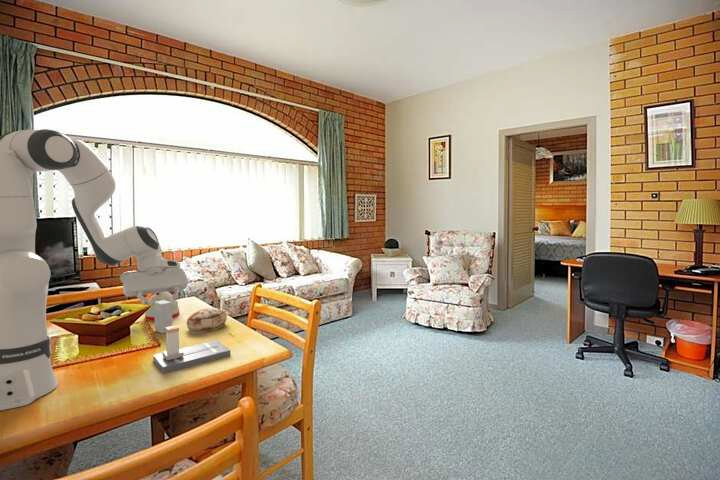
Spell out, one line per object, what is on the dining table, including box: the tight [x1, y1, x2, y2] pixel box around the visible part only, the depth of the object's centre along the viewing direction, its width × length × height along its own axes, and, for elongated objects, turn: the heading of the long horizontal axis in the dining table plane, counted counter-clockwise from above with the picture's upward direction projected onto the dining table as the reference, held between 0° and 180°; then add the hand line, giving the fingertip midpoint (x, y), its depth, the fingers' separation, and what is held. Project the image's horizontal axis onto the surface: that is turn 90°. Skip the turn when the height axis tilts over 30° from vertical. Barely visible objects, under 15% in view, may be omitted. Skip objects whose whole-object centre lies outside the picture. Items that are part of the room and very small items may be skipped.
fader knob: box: [161, 325, 184, 360], centre depth 120 cm, size 5×5×10 cm
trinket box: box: [186, 307, 228, 334], centre depth 155 cm, size 13×15×8 cm
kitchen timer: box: [144, 291, 180, 322], centre depth 169 cm, size 14×14×15 cm
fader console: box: [152, 339, 231, 374], centre depth 125 cm, size 21×12×2 cm, turn 132°
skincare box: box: [154, 300, 173, 334], centre depth 150 cm, size 6×4×12 cm
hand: (161, 301), depth 128 cm, fingers open, 8 cm apart
